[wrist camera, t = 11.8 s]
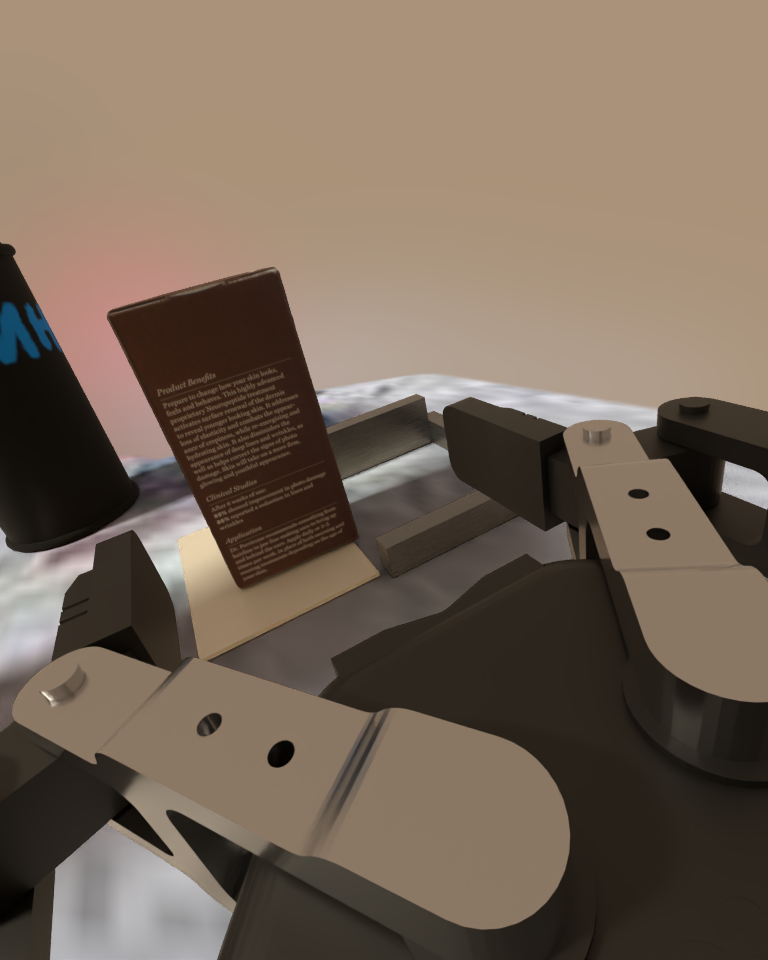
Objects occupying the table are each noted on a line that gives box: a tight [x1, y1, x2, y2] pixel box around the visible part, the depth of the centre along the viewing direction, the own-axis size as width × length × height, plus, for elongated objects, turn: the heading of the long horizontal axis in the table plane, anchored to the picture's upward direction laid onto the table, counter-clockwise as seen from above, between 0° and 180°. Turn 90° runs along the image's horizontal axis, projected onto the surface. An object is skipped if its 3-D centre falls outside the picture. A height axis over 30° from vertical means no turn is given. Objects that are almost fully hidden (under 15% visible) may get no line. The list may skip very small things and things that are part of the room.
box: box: [107, 267, 359, 589], centre depth 21 cm, size 6×4×12 cm
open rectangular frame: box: [326, 394, 518, 578], centre depth 25 cm, size 9×11×3 cm
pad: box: [178, 527, 380, 661], centre depth 23 cm, size 8×10×1 cm
